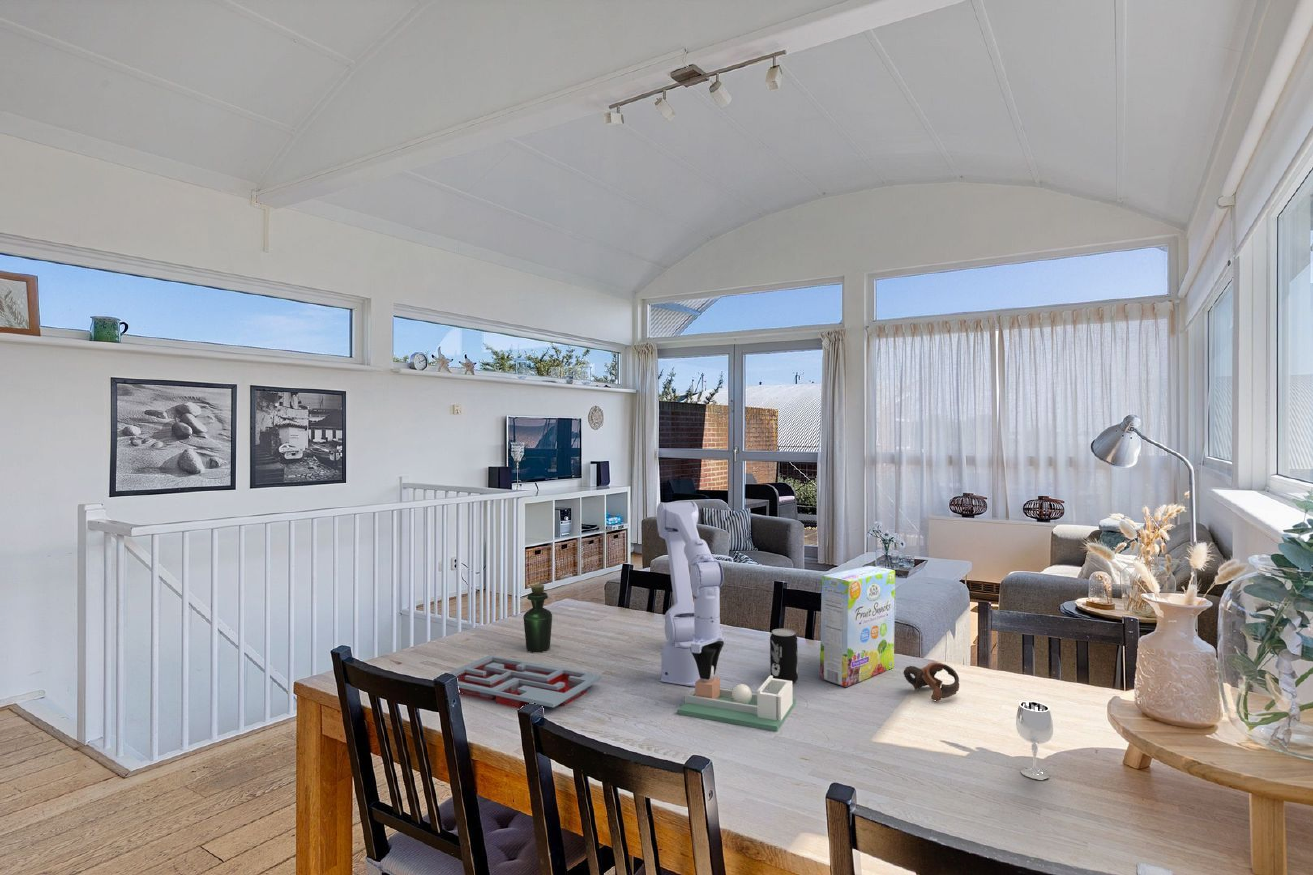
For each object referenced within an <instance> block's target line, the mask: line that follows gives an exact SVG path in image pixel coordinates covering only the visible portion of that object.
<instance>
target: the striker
mask: <svg viewBox="0 0 1313 875" xmlns="http://www.w3.org/2000/svg"><path fill="white" fill-rule="evenodd" d="M720 679H721V678H720V677H717V676H715V674H714V666H712V667H711V675H710V679H709V680H707V679H701V678H700V679H699V680H698V681H696V682H695V687H694V689H695V690H694V694H695V696H699V697H706V698H712V699H717V698H718V697H719V696H720V687H721V680H720Z"/></svg>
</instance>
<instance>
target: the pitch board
mask: <svg viewBox="0 0 1313 875" xmlns="http://www.w3.org/2000/svg"><path fill="white" fill-rule="evenodd" d="M733 689H734V688H727V687H721V686H720V696H719V697H718V698H717V699H712V698H706V697H699V696H695V693H693V694H685V695H684V703H683V704H682V705H681V706H680V707H678V708H677V715H679V716H686V717H693V718H699V719H702V720H709V721H715V722H719V723H726V724H732V725H736V726H737V725H738V726H744V727H749V728H755V729H760V730H767V731H772V732H778V731H779V730H780V728H781V727H782V725H783V723H784V722H785V720H786V719H787V718H788V716H789V715H790V713H791V712H792V711H793V708H794V707H795V706H796V704H797V699H796V698H793V704H792V705H791V707H790V708H789V710H788V711H787V713H786V714H785V716H784V717H783V719H782V720H781V721H778V720H772V719H766V718H760V717H758V715H757V692H754V691H751V692H752V699H751V701H750V702H749V703H748V704H743V703H737V702H734V700H733V698H732V691H733Z"/></svg>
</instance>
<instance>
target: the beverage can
mask: <svg viewBox="0 0 1313 875" xmlns="http://www.w3.org/2000/svg"><path fill="white" fill-rule="evenodd" d="M769 645H770V646H769V652H770V654H769V659H770V660H769V662H770V666H769V667H770V670H769V671H770V674H769V676H770V675H772V676H773V678H774V679H781V680H788V681H792V685H793V684H795V683H796V682H797V680H798V679H799V678H798V677H799V676H798V675H799V674H798V672H799V670H798V664H799V663H798V660H799V659H798V657H799V656H798V637H797V635H796V631H795V630H793V629H791V628H790V629H789V628H775V629H772V630H771V635H770V638H769Z"/></svg>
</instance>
